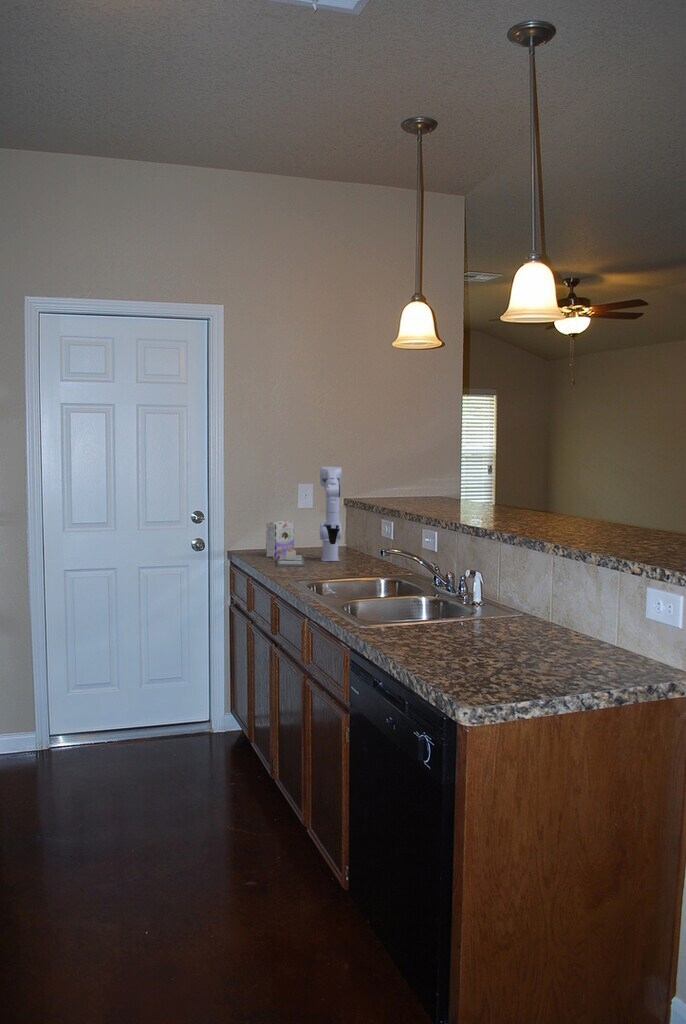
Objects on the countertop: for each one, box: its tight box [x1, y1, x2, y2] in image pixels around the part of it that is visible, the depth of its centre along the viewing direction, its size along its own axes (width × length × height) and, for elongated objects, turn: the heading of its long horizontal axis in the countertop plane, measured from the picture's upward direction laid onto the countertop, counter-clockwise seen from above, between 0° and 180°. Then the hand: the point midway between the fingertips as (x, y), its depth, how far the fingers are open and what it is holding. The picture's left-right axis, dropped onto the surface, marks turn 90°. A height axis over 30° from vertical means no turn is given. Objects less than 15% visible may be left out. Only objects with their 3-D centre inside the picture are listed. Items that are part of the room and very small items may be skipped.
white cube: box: [286, 548, 297, 560], centre depth 356 cm, size 4×4×4 cm
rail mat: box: [276, 554, 306, 567], centre depth 353 cm, size 18×12×2 cm, turn 4°
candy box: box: [265, 519, 295, 559], centre depth 373 cm, size 14×6×16 cm, turn 144°
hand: (332, 543), depth 349 cm, fingers open, 7 cm apart
